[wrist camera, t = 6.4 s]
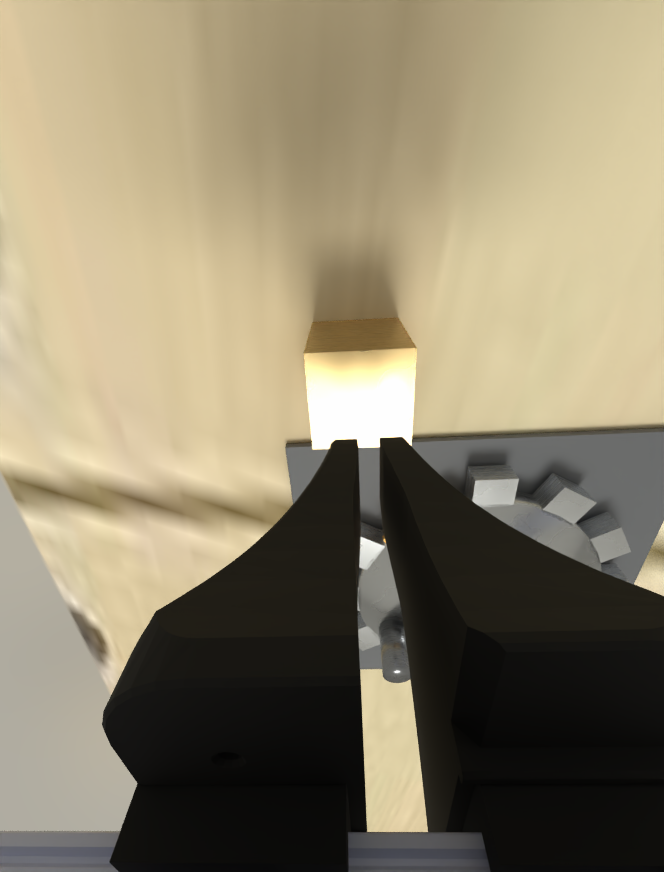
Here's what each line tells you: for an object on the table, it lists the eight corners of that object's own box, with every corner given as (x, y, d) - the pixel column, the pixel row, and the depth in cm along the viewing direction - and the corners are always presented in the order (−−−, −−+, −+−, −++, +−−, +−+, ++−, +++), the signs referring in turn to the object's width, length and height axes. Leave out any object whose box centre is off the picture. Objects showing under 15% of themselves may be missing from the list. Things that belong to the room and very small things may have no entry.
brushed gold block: (398, 317, 18) (416, 347, 13) (396, 396, 20) (411, 445, 15) (312, 322, 18) (303, 353, 14) (318, 399, 20) (312, 449, 16)
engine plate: (700, 426, 20) (706, 429, 20) (592, 660, 30) (595, 665, 30) (286, 443, 21) (285, 447, 21) (316, 664, 31) (316, 669, 31)
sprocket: (564, 407, 19) (620, 453, 15) (646, 608, 26) (697, 672, 22) (278, 549, 24) (266, 609, 20) (411, 684, 31) (421, 747, 27)
